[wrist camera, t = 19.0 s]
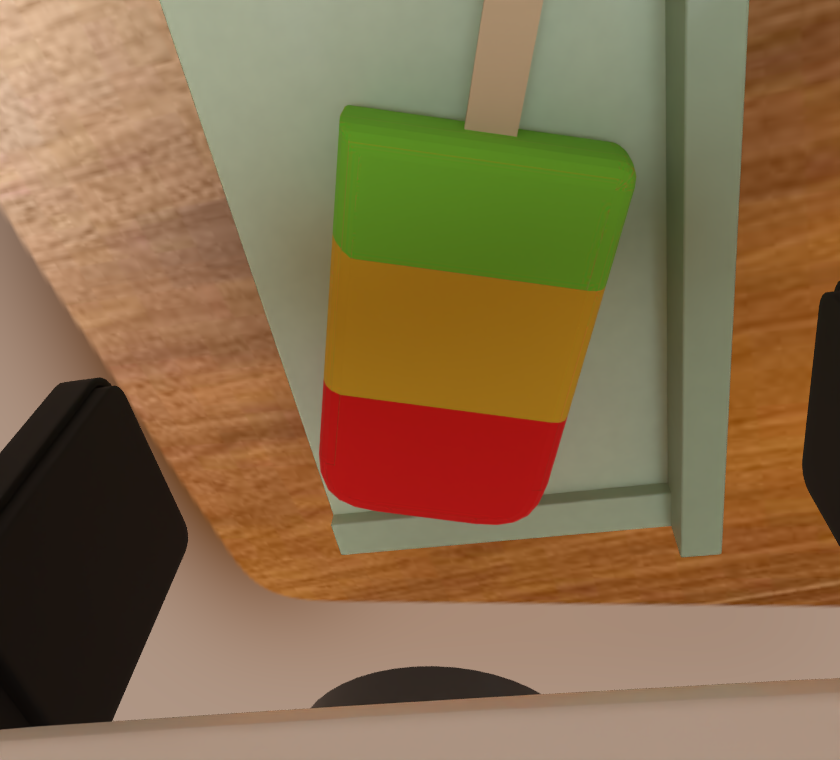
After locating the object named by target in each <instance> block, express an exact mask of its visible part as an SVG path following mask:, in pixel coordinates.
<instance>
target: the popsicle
mask: <svg viewBox="0 0 840 760" xmlns="http://www.w3.org/2000/svg"><path fill="white" fill-rule="evenodd" d="M542 5H543V0H484V2H483V8H482V15H481V21H480V28H479V34H478V41H477V47H476V54H475V60H474V67H473V73H472V80H471V86H470V93H469V99H468V106H467V112H466V119H465V121H459V120H452V119H445V118H437V117H430V116H423V115H416V114H409V113H402V112H395V111H388V110H381V109H374V108H367V107H360V106H352V105H347V106H345V107H344V109H343V111H342V113H341V115H340V121H339V137H338V153H337V169H336V185H335V202H334V218H333V234H332V250H331V266H330V283H329V299H328V315H327V331H326V348H325V364H324V380H323V397H322V413H321V429H320V445H319V460H320V472H321V474H322V477H323V479H324V481H325V483H326V486H327V488H328V490H329V491H330V492H331V493H332V494H333V495H334V496H335V497H337V498H338V499H339V500H341V501H343V502H345V503H347V504H350V505H352V506H354V507H358V508H363V509H367V510H372V511H377V512H385V513H393V514H401V515H408V516H416V517H424V518H432V519H440V520H448V521H455V522H463V523H471V524H485V525H501V524H507V523H513V522H516V521H518V520H520V519H522V518H524V517H526V516H528V515H529V514H530V513H531V512H532V511H533V509H534V508H535V507H536V506H537V505H538V504H539V502H540V500H541V498H542V496H543V493H544V491H545V489H546V487H547V484H548V481H549V478H550V475H551V471H552V468H553V464H554V461H555V458H556V454H557V451H558V447H559V444H560V441H561V437H562V434H563V430H564V427H565V424H566V420H567V417H568V413H569V410H570V407H571V403H572V400H573V396H574V393H575V390H576V386H577V383H578V379H579V376H580V373H581V369H582V366H583V362H584V359H585V356H586V352H587V349H588V345H589V342H590V339H591V335H592V332H593V328H594V325H595V322H596V318H597V315H598V311H599V308H600V305H601V301H602V298H603V294H604V291H605V287H606V284H607V281H608V277H609V274H610V270H611V267H612V264H613V260H614V257H615V253H616V250H617V247H618V243H619V240H620V236H621V233H622V230H623V226H624V223H625V219H626V216H627V213H628V209H629V206H630V202H631V199H632V196H633V192H634V189H635V184H636V177H637V176H636V172H635V168H634V165H633V162H632V160H631V158H630V157H629V155H628V153H627V152H626V151H625V149H623V148H622V147H621V146H620V145H618V144H616V143H613V142H608V141H601V140H593V139H586V138H579V137H572V136H565V135H558V134H551V133H544V132H537V131H530V130H523V129H518V128H519V123H520V118H521V113H522V108H523V103H524V97H525V92H526V87H527V82H528V77H529V72H530V67H531V61H532V56H533V51H534V46H535V41H536V36H537V31H538V25H539V20H540V15H541V10H542Z"/></svg>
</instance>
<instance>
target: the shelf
mask: <svg viewBox="0 0 840 760" xmlns="http://www.w3.org/2000/svg"><path fill="white" fill-rule="evenodd" d="M159 1H160V4H161V7H162V10H163V13H164V16H165V18H166V21H167V24H168V27H169V30H170V33H171V36H172V39H173V42H174V45H175V48H176V51H177V54H178V57H179V60H180V63H181V66H182V69H183V72H184V75H185V78H186V81H187V83H188V86H189V89H190V92H191V95H192V98H193V101H194V104H195V107H196V110H197V113H198V116H199V119H200V122H201V125H202V128H203V131H204V134H205V137H206V140H207V143H208V146H209V148H210V151H211V154H212V157H213V160H214V163H215V166H216V169H217V172H218V175H219V178H220V181H221V184H222V187H223V190H224V193H225V196H226V199H227V202H228V205H229V208H230V211H231V213H232V216H233V219H234V222H235V225H236V228H237V231H238V234H239V237H240V240H241V243H242V246H243V249H244V252H245V255H246V258H247V261H248V264H249V267H250V270H251V273H252V276H253V278H254V281H255V284H256V287H257V290H258V293H259V296H260V299H261V302H262V305H263V308H264V311H265V314H266V317H267V320H268V323H269V326H270V329H271V332H272V335H273V338H274V341H275V343H276V346H277V349H278V352H279V355H280V358H281V361H282V364H283V367H284V370H285V373H286V376H287V379H288V382H289V385H290V388H291V391H292V394H293V397H294V400H295V403H296V406H297V408H298V411H299V414H300V417H301V420H302V423H303V426H304V429H305V432H306V435H307V438H308V441H309V444H310V447H311V450H312V453H313V456H314V459H315V462H316V465H317V468H318V471H319V473H320V476H321V479H322V482H323V485H324V488H325V491H326V494H327V497H328V500H329V503H330V506H331V509H332V512H333V520H332V524H331V526H332V529H333V532H334V535H335V538H336V541H337V544H338V546H339V549H340V552H341V554H342V555H347V554H358V553H370V552H381V551H392V550H404V549H415V548H426V547H438V546H449V545H460V544H472V543H483V542H494V541H506V540H517V539H528V538H540V537H551V536H562V535H574V534H585V533H596V532H608V531H619V530H630V529H642V528H653V527H664V526H672V530H673V533H674V536H675V539H676V543H677V546H678V549H679V553H680V555H681V557H692V556H704V555H716V554H721V552H722V533H723V513H724V493H725V473H726V453H727V433H728V413H729V393H730V373H731V353H732V333H733V313H734V293H735V273H736V253H737V233H738V213H739V193H740V173H741V153H742V133H743V113H744V93H745V73H746V53H747V33H748V13H749V0H543V5H542V10H541V15H540V20H539V25H538V31H537V36H536V41H535V46H534V51H533V56H532V61H531V67H530V72H529V77H528V82H527V87H526V92H525V97H524V103H523V108H522V113H521V118H520V123H519V128H518V129H523V130H530V131H537V132H544V133H551V134H558V135H565V136H572V137H579V138H586V139H593V140H601V141H608V142H613V143H616V144H618V145H620V146H621V147H622V148H623V149H625V151H626V152H627V153H628V155H629V157H630V158H631V160H632V162H633V165H634V168H635V172H636V176H637V177H636V184H635V189H634V192H633V196H632V199H631V202H630V206H629V209H628V213H627V216H626V219H625V223H624V226H623V230H622V233H621V236H620V240H619V243H618V247H617V250H616V253H615V257H614V260H613V264H612V267H611V270H610V274H609V277H608V281H607V284H606V287H605V291H604V294H603V298H602V301H601V305H600V308H599V311H598V315H597V318H596V322H595V325H594V328H593V332H592V335H591V339H590V342H589V345H588V349H587V352H586V356H585V359H584V362H583V366H582V369H581V373H580V376H579V379H578V383H577V386H576V390H575V393H574V396H573V400H572V403H571V407H570V410H569V413H568V417H567V420H566V424H565V427H564V430H563V434H562V437H561V441H560V444H559V447H558V451H557V454H556V458H555V461H554V464H553V468H552V471H551V475H550V478H549V481H548V484H547V487H546V489H545V491H544V493H543V496H542V498H541V500H540V502H539V504H538V505H537V506H536V507H535V508H534V509H533V511H532V512H531V513H530V514H529V515H528V516H526V517H524V518H522V519H520V520H518V521H516V522H513V523H507V524H501V525H485V524H471V523H463V522H455V521H448V520H440V519H432V518H424V517H416V516H408V515H401V514H393V513H385V512H377V511H372V510H367V509H363V508H358V507H354V506H352V505H350V504H347V503H345V502H343V501H341V500H339V499H338V498H337V497H335V496H334V495H333V494H332V493H331V492H330V491H329V490H328V488H327V486H326V483H325V481H324V479H323V477H322V474H321V472H320V460H319V445H320V429H321V413H322V397H323V380H324V364H325V348H326V331H327V315H328V299H329V283H330V266H331V250H332V234H333V218H334V202H335V185H336V169H337V153H338V137H339V121H340V115H341V113H342V111H343V109H344V107H345V106H347V105H352V106H360V107H367V108H374V109H381V110H388V111H395V112H402V113H409V114H416V115H423V116H430V117H437V118H445V119H452V120H459V121H465V119H466V112H467V106H468V99H469V93H470V86H471V80H472V73H473V67H474V60H475V54H476V47H477V41H478V34H479V28H480V21H481V15H482V8H483V2H484V0H159Z"/></svg>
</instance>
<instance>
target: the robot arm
mask: <svg viewBox="0 0 840 760" xmlns="http://www.w3.org/2000/svg"><path fill="white" fill-rule="evenodd" d="M802 468H803V476H804V480H805V483H806V486H807V489H808V491H809V493H810V495H811V496H812V498H813V500H814V502H815V503H816V505H817V507H818V509H819V511H820V512H821V514H822V516H823V518H824V519H825V521H826V523H827V525H828V527H829V528H830V530H831V532H832V534H833V535H834V537H835V539H836V541H837V543H838V544H839V546H840V281H839V282H838V283H837V285H836V287H835V291H834V292H826V293H824V294H823V295H822V298H821V300H820V305H819V313H818V322H817V331H816V341H815V350H814V359H813V368H812V377H811V386H810V396H809V405H808V414H807V423H806V432H805V441H804V451H803V460H802ZM187 543H188V532H187V527H186V524H185V522H184V519H183V517H182V515H181V513H180V511H179V509H178V507H177V504H176V502H175V500H174V498H173V496H172V494H171V492H170V490H169V488H168V485H167V483H166V481H165V479H164V477H163V475H162V473H161V470H160V468H159V466H158V464H157V462H156V460H155V458H154V455H153V453H152V451H151V449H150V447H149V445H148V443H147V441H146V438H145V436H144V434H143V432H142V430H141V428H140V426H139V423H138V421H137V419H136V417H135V415H134V413H133V411H132V409H131V406H130V404H129V402H128V400H127V398H126V396H125V394H124V392H123V391H122V390H121V389H120V388H119V387H117V386H111V384H110V383H109V382H108V381H107V380H105V379H103V378H93V379H86V380H78V381H70V382H64V383H60V384H59V385H57V386H56V387H55V388H54V389H53V390H52V392H51V393H50V394H49V395H48V397H47V398H46V399H45V400H44V401H43V402H42V404H41V405H40V406H39V407H38V408H37V410H36V411H35V412H34V413H33V414H32V416H31V417H30V418H29V419H28V420H27V422H26V423H25V424H24V425H23V426H22V428H21V429H20V430H19V431H18V432H17V434H16V435H15V436H14V437H13V438H12V439H11V441H10V442H9V443H8V444H7V446H6V447H5V448H4V449H3V450H2V451H1V453H0V760H840V678H835V679H811V680H789V681H771V682H754V683H735V684H718V685H701V686H683V687H664V688H648V689H647V688H646V689H628V690H610V691H593V692H576V693H557V694H539V695H522V696H506V697H489V698H473V699H456V700H440V701H423V702H407V703H390V704H374V705H358V706H342V707H326V708H310V709H294V710H280V711H279V710H278V711H263V712H247V713H232V714H217V715H203V716H187V717H172V718H159V719H144V720H128V721H113V722H112V720H113V718H114V715H115V713H116V711H117V708H118V706H119V704H120V701H121V699H122V696H123V694H124V692H125V690H126V688H127V685H128V683H129V680H130V678H131V676H132V674H133V671H134V669H135V667H136V664H137V662H138V660H139V657H140V655H141V653H142V650H143V648H144V646H145V644H146V641H147V639H148V636H149V634H150V632H151V630H152V627H153V625H154V623H155V620H156V618H157V616H158V614H159V611H160V609H161V606H162V604H163V601H164V600H165V597H166V595H167V593H168V590H169V588H170V586H171V583H172V581H173V579H174V576H175V574H176V572H177V569H178V567H179V565H180V563H181V560H182V558H183V556H184V553H185V551H186V547H187Z"/></svg>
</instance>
